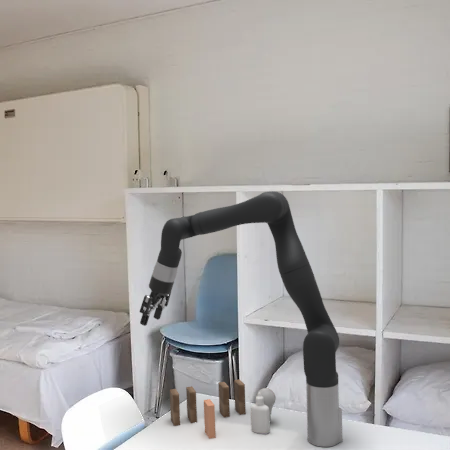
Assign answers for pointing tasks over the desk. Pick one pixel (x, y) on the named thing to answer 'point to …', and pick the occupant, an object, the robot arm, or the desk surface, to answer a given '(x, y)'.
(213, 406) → the domino
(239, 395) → the domino
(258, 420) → the eye dropper bottle
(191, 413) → the domino
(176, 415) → the domino
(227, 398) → the domino
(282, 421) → the desk surface
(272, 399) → the lightbulb
